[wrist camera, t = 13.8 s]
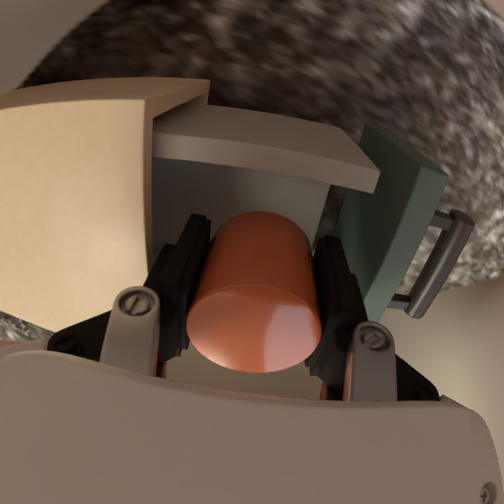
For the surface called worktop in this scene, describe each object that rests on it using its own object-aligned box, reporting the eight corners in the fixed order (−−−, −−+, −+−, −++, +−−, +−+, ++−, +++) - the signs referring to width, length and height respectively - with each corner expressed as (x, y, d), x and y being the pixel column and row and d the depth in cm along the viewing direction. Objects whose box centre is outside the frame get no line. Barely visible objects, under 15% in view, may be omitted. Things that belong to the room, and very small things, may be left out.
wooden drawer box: (210, 79, 14) (145, 98, 7) (195, 258, 20) (159, 362, 13) (21, 88, 13) (-75, 127, 6) (39, 230, 20) (-23, 300, 13)
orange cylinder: (203, 209, 11) (172, 282, 8) (316, 210, 11) (332, 286, 7) (214, 292, 13) (196, 369, 10) (307, 295, 13) (313, 374, 10)
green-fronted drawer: (449, 151, 14) (521, 206, 8) (389, 289, 19) (416, 369, 14) (145, 89, 13) (68, 114, 8) (146, 250, 19) (104, 327, 14)
